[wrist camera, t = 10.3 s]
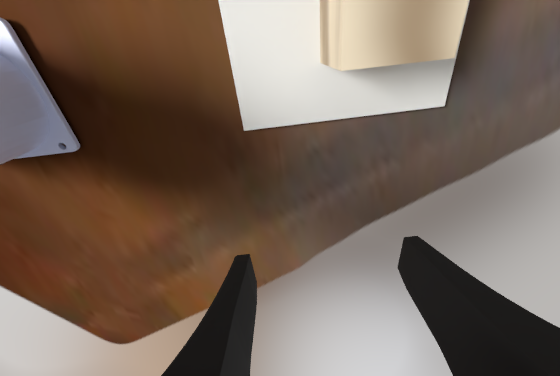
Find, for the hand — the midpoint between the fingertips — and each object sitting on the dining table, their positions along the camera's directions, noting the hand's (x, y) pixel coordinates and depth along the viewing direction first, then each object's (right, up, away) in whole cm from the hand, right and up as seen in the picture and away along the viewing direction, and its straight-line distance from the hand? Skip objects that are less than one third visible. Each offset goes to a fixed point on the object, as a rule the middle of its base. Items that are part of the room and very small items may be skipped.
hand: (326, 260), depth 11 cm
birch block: (+3, +14, +2) cm, 14 cm away
